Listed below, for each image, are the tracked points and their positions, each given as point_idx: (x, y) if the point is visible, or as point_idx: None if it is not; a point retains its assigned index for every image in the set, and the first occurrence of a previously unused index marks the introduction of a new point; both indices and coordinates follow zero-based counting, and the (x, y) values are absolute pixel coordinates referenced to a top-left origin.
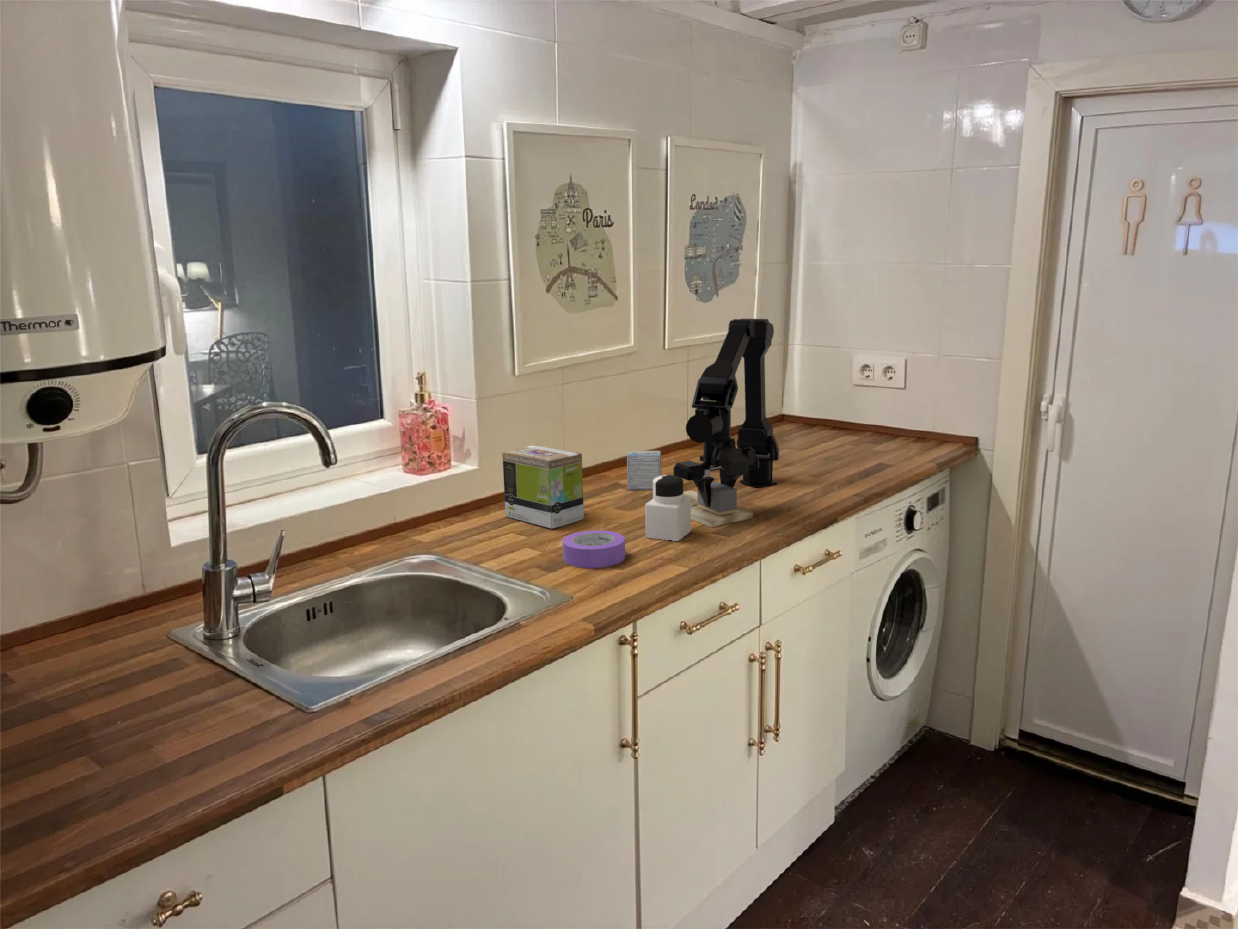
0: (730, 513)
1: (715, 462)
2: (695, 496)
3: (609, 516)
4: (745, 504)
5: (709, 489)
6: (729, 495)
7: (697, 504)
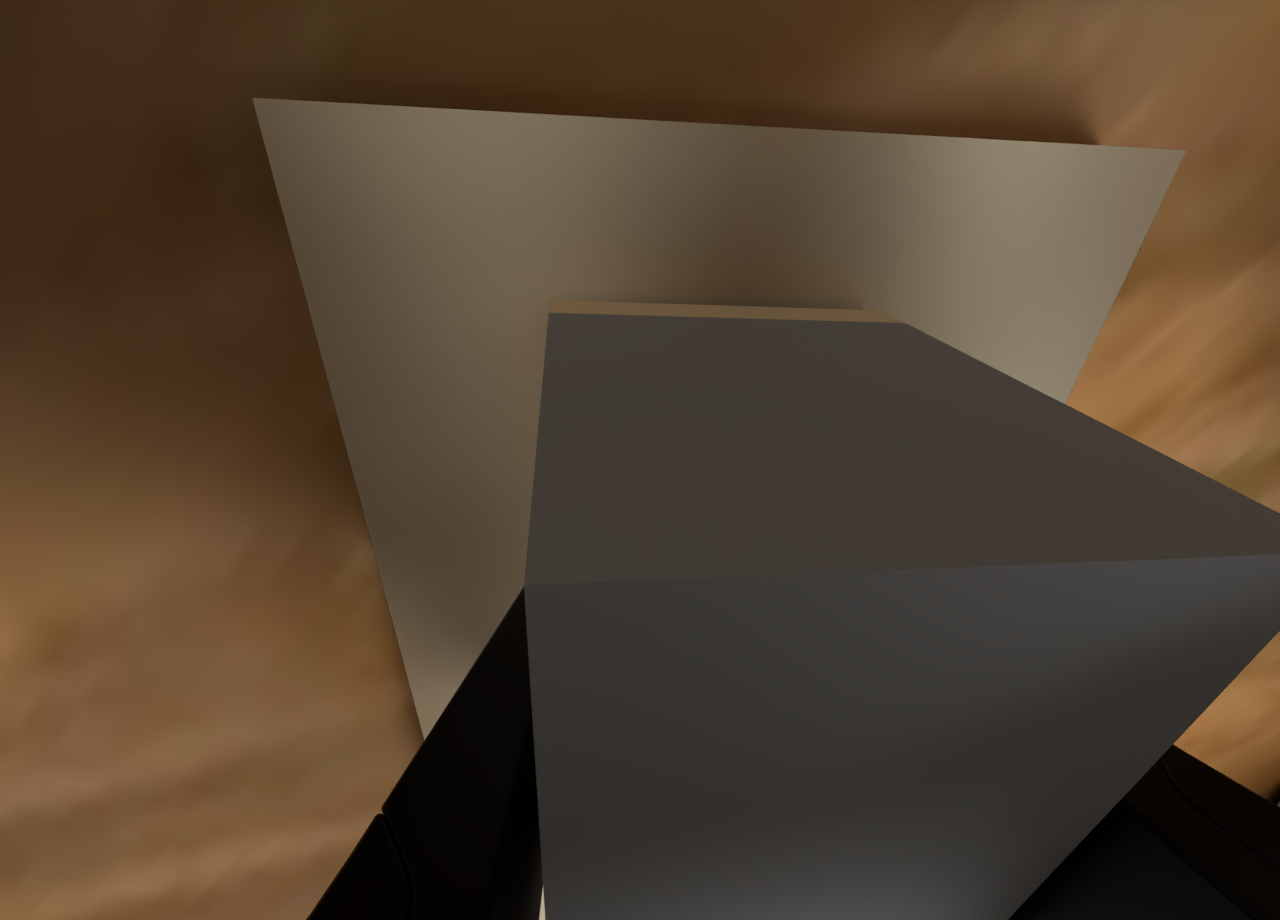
0: None
1: None
2: None
3: None
4: (135, 651)
5: (1198, 821)
6: (835, 455)
7: None
